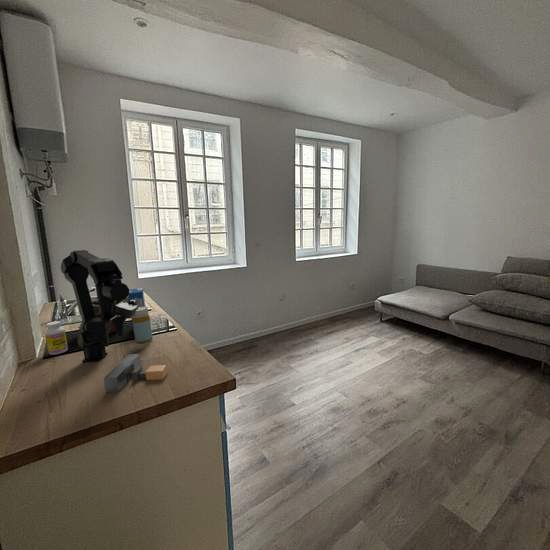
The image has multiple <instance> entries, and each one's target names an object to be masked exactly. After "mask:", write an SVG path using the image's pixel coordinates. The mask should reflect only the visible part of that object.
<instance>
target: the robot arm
mask: <svg viewBox="0 0 550 550" xmlns="http://www.w3.org/2000/svg"><path fill="white" fill-rule="evenodd" d="M60 264H61V265H60V271H61V273H62V274H63V275H64V279H65V280H67V281H68V283H70V284H72V288H73V291H74V296H75V299H76V304H77V307H78V310H79V314H80V319H81V322H80V325H79V328H78V330H79V333H78V337H77V339H76V341H77V345H78V346H79V347H80V348H82V351H83V356H84V359H82V360H81V361H82V363H87V362H99V361H101V360H102V359H103V358H105V357H106V356H107V355H108V352H107V351H106V347H109V346H110V339H109V338H110V337H109V334H110V333H108V332H109V330H110V329H111V328H112V327H110V326H111V320H112V322H113V324H114V326H115V328H116V330H117V331H116V333H117V335H118V336H120V337H122V336H123V335H124V330H125V326H126V325H125V324H126V320H127V319H131V317H132V316H134V315H135V313H136V310H137V309H138V307H137V306H138V305H137V303H136V301H134V300H131V301H130V302H129V301H128V302H127V301H126V302H124V300H126V299H127V298H128V295H129V290H130V289H129V287H128V285H127V284H126V283H123V282H122V280H123V273H122V271H121V269H120V268H119V266H118V265H117V262H116V261H115V260H114V259H113V258H108V257H107V258H105V257H104V258H101V257H98V256H96V255H94V254H93V253H90V252H89V250H85V249H80V250H79V249H78V250H73V251H71V252H70V254H69V255H68V256H66V257H65V258H63V259H62V261H61V263H60ZM89 276H90V277H91V279H92V280H93V284H94V287H95V291H96V298H97V299H98V301H97V302H95V305H99V311H100V313H98V314H97V317H102V318H96V315H95V311H94V308H93V304H92V300H91V298H92V296H91V293H90V289H89V286H88V282H87V280H88V278H89ZM122 300H123V302H124V303H123V302H121V301H122Z"/></svg>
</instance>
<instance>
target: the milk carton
mask: <svg viewBox="0 0 550 550" xmlns="http://www.w3.org/2000/svg"><path fill="white" fill-rule="evenodd" d="M127 298H128V303H129V302H130V301H131V300H134V301H136V303H137V305H138V306H137V307H146V301H145V294H144V287H140V288H139V287H138V288H132V289H131V288H130V289H129V295H128V297H127ZM130 320H131V326H132V331H133V334H134V327H133V316H132V317H131V318H130Z"/></svg>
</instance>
